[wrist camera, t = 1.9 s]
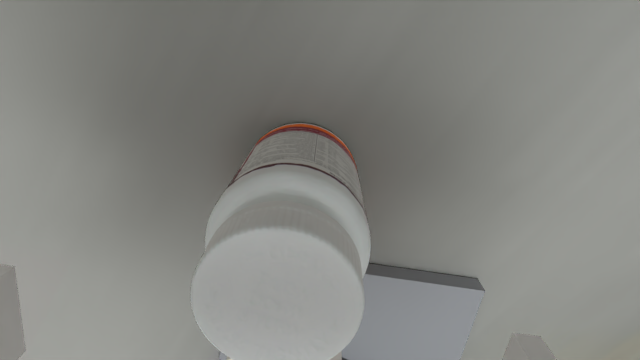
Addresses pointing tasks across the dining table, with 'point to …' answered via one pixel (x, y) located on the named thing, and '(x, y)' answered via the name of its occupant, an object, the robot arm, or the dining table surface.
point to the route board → (412, 315)
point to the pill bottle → (285, 251)
